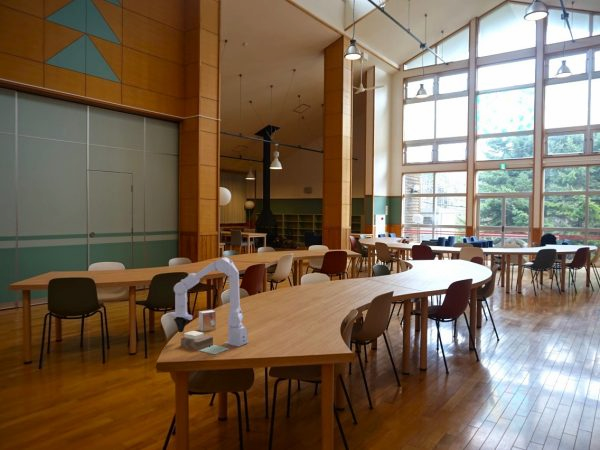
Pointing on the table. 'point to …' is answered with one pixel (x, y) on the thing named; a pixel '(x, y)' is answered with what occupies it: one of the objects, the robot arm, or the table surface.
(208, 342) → the deck
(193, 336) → the white rectangular block
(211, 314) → the small box
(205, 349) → the mat
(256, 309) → the table surface
